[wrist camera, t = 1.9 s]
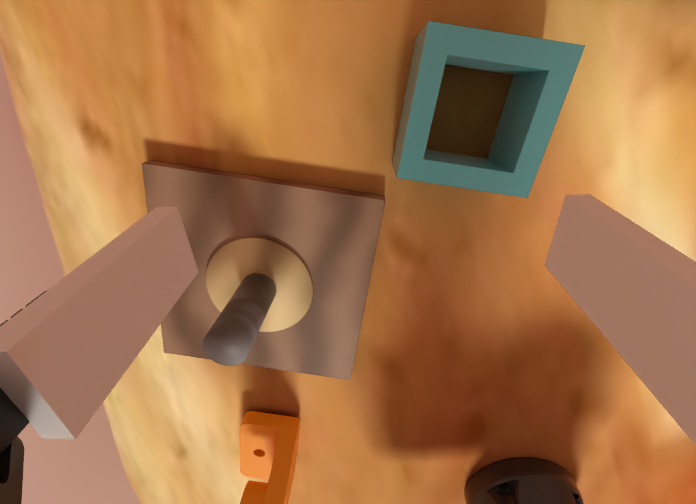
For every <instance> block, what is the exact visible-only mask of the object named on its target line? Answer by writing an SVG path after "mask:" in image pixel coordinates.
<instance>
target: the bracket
mask: <svg viewBox="0 0 696 504" xmlns="http://www.w3.org/2000/svg"><path fill="white" fill-rule="evenodd" d="M299 424H300V418H298V417H291V416H283V415H276V414H269V413H262V412H255V411H248V412H247V413H246V414H245V416H244V419H243V421H242V424H241V426H240V472H241V473H242V474H243V475H244V476H247V477H254V478H262V479H269V481H268V483H264V482H256V481H248V483H247V485H246V487H245V490H244V493H243V496H242V499H241V503H240V504H288V499H289V495H290V490H291V486H292V481H293V476H294V471H295V463H296V456H297V449H298V439H299V429H300V426H299Z"/></svg>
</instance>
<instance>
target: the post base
mask: <svg viewBox="0 0 696 504" xmlns="http://www.w3.org/2000/svg"><path fill="white" fill-rule="evenodd" d="M142 170H143V178H144V187H145V195H146V203H147V212H148V213H149V212H150V211H152V210H153V209H154V208H156V207H178V210H179V213H180V216H181V219H182V222H183V225H184V229H185V232H186V235H187V238H188V241H189V244H190V247H191V250H192V253H193V256H194V259H195V262H196V265H197V268H198V271H199V272H198V274H197V275H196V276H195V278H194V279H193V280H192V282H191V283H190V284H189V286H188V287H187V288H186V290H185V291H184V293H183V294H182V295H181V297H180V298H179V299H178V301H177V302H176V303H175V305H174V306H173V308H172V309H171V310H170V312H169V313H168V314H167V316H166V317H165V318H164V320H163V321H162V322H161V329H162V337H163V346H164V353H171V354H178V355H184V356H191V357H198V358H204V359H211V360H213V361H214V362H216V363H218V364H221V365H225V366H234V365H238V364H245V365H252V366H258V367H265V368H272V369H278V370H285V371H292V372H299V373H305V374H312V375H319V376H325V377H332V378H339V379H346V380H351V375H352V369H353V364H354V359H355V354H356V349H357V344H358V338H359V333H360V328H361V323H362V318H363V313H364V307H365V302H366V297H367V292H368V287H369V282H370V276H371V271H372V266H373V261H374V256H375V251H376V245H377V240H378V235H379V230H380V225H381V220H382V214H383V209H384V204H385V196H381V195H375V194H368V193H362V192H355V191H349V190H342V189H336V188H329V187H323V186H316V185H309V184H303V183H296V182H290V181H283V180H277V179H270V178H264V177H257V176H251V175H244V174H238V173H231V172H224V171H218V170H211V169H205V168H198V167H192V166H185V165H179V164H172V163H166V162H159V161H153V160H151V161H148V162H144V163H142Z"/></svg>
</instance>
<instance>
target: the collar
mask: <svg viewBox="0 0 696 504" xmlns="http://www.w3.org/2000/svg"><path fill="white" fill-rule="evenodd" d="M584 47H585V45H578V44H572V43H566V42H559V41H553V40H546V39H540V38H534V37H527V36H521V35H515V34H508V33H502V32H496V31H489V30H483V29H477V28H470V27H464V26H457V25H451V24H445V23H438V22H432V21H428V22H427V24H426V25H425V26H424V27H423V29H422V30H421V31H420V32H419V33H418V35H417V36H416V41H415V46H414V51H413V57H412V62H411V67H410V72H409V77H408V82H407V88H406V93H405V98H404V103H403V108H402V114H401V119H400V124H399V129H398V134H397V139H396V145H395V150H394V155H393V160H392V164H393V168H394V171H395V174H396V177H397V178H401V179H407V180H414V181H420V182H427V183H433V184H440V185H446V186H453V187H459V188H466V189H472V190H479V191H485V192H492V193H498V194H505V195H511V196H518V197H524V198H528V195H529V192H530V190H531V187H532V184H533V182H534V179H535V177H536V174H537V171H538V169H539V166H540V163H541V161H542V158H543V155H544V153H545V150H546V147H547V145H548V142H549V140H550V137H551V134H552V132H553V129H554V126H555V124H556V121H557V118H558V116H559V113H560V110H561V108H562V105H563V103H564V100H565V97H566V95H567V92H568V89H569V87H570V84H571V81H572V79H573V76H574V74H575V71H576V68H577V66H578V63H579V60H580V58H581V55H582V52H583V50H584ZM445 65H452V66H458V67H465V68H471V69H477V70H484V71H490V72H497V73H503V74H509V75H513V78H512V81H511V85H510V88H509V91H508V94H507V97H506V101H505V104H504V107H503V110H502V114H501V117H500V120H499V123H498V126H497V130H496V133H495V136H494V139H493V143H492V146H491V149H490V152H489V155H488V159H486V158H479V157H473V156H466V155H460V154H453V153H447V152H440V151H434V150H427V149H426V145H427V141H428V137H429V132H430V128H431V124H432V119H433V115H434V111H435V106H436V102H437V98H438V93H439V89H440V85H441V80H442V76H443V72H444V67H445Z"/></svg>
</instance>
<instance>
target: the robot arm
mask: <svg viewBox="0 0 696 504" xmlns="http://www.w3.org/2000/svg"><path fill="white" fill-rule="evenodd" d="M545 266H546V268H547V269H548V270H549V271H550V272H551V274H552V275H553V276H554V277H555V278H556V280H557V281H558V282H559V283H560V284H561V285H562V287H563V288H564V289H565V290H566V291H567V293H568V294H569V295H570V296H571V297H572V299H573V300H574V301H575V302H576V303H577V305H578V306H579V307H580V308H581V309H582V310H583V312H584V313H585V314H586V315H587V316H588V318H589V319H590V320H591V321H592V322H593V324H594V325H595V326H596V327H597V328H598V329H599V331H600V332H601V333H602V334H603V335H604V337H605V338H606V339H607V340H608V341H609V343H610V344H611V345H612V346H613V347H614V349H615V350H616V351H617V352H618V353H619V354H620V356H621V357H622V358H623V359H624V360H625V362H626V363H627V364H628V365H629V366H630V368H631V369H632V370H633V371H634V372H635V373H636V375H637V376H638V377H639V378H640V379H641V381H642V382H643V383H644V384H645V385H646V387H647V388H648V389H649V390H650V391H651V393H652V394H653V395H654V396H655V397H656V398H657V400H658V401H659V402H660V403H661V404H662V406H663V407H664V408H665V409H666V410H667V412H668V413H669V414H670V415H671V416H672V417H673V419H674V420H675V421H676V422H677V423H678V425H679V426H680V427H681V428H682V429H683V431H684V432H685V433H686V434H687V435H688V437H689V438H690V439H691V440H692V441H693V442H694V444H695V445H696V262H695V261H693V260H692V259H690V258H689V257H687V256H686V255H684V254H682V253H681V252H679V251H678V250H676V249H675V248H673V247H671V246H670V245H668V244H667V243H665V242H664V241H662V240H661V239H659V238H657V237H656V236H654V235H653V234H651V233H650V232H648V231H646V230H645V229H643V228H642V227H640V226H639V225H637V224H635V223H634V222H632V221H631V220H629V219H628V218H626V217H625V216H623V215H621V214H620V213H618V212H617V211H615V210H614V209H612V208H610V207H609V206H607V205H606V204H604V203H603V202H601V201H600V200H598V199H596V198H595V197H593V196H592V195H590V194H584V195H565V199H564V202H563V206H562V209H561V212H560V216H559V219H558V222H557V226H556V229H555V233H554V236H553V239H552V243H551V246H550V249H549V253H548V256H547V259H546V263H545ZM198 272H199V271H198V268H197V265H196V262H195V259H194V256H193V253H192V250H191V247H190V244H189V241H188V238H187V235H186V232H185V229H184V225H183V222H182V219H181V216H180V213H179V210H178V207H156V208H154V209H153V210H152V211H150V212H149V213H148V214H147V215H145V216H144V217H143V218H141V219H140V220H139V221H137V222H136V223H135V224H133V225H132V226H131V227H130V228H128V229H127V230H126V231H124V232H123V233H122V234H120V235H119V236H118V237H116V238H115V239H114V240H113V241H111V242H110V243H109V244H107V245H106V246H105V247H103V248H102V249H101V250H99V251H98V252H97V253H96V254H94V255H93V256H92V257H90V258H89V259H88V260H86V261H85V262H84V263H83V264H81V265H80V266H79V267H77V268H76V269H75V270H73V271H72V272H71V273H69V274H68V275H67V276H66V277H64V278H63V279H62V280H60V281H59V282H58V283H57V284H55V285H54V286H53V287H51V288H50V289H49V290H47V291H45V292H43V293H42V294H40V296H38V297H37V298H35V299H34V300H33V301H32V302H30V303H29V304H27V305H26V307H25V308H24V309H21V310H19V311H18V312H17V313H15V314H14V315H13V316H12V317H11V319H9V320H6V321H5V322H4V323H2V324H1V325H0V504H21V499H22V481H23V462H24V446H23V443H22V441H21V440H20V439H19V438H18V437H17V435H18V434H19V433H20V432H21V431H22V430H23V429H24V428H25V427H26V425H27V424H28V423H30V424H31V426H32V427H33V428H34V429H35V430H36V431H37V432H38V434H39V435H40V436H41V437H42V438H43V439H76V438H77V437H78V435H79V434H80V433H81V431H82V430H83V428H84V427H85V426H86V424H87V423H88V422H89V420H90V419H91V418H92V416H93V415H94V413H95V412H96V411H97V409H98V408H99V407H100V405H101V404H102V403H103V401H104V400H105V399H106V397H107V396H108V394H109V393H110V392H111V390H112V389H113V388H114V386H115V385H116V384H117V382H118V381H119V380H120V378H121V377H122V375H123V374H124V373H125V371H126V370H127V369H128V367H129V366H130V365H131V363H132V362H133V361H134V359H135V358H136V356H137V355H138V354H139V352H140V351H141V350H142V348H143V347H144V346H145V344H146V343H147V341H148V340H149V339H150V337H151V336H152V335H153V333H154V332H155V331H156V329H157V328H158V327H159V325H160V324H161V322H162V321H163V320H164V318H165V317H166V316H167V314H168V313H169V312H170V310H171V309H172V308H173V306H174V305H175V303H176V302H177V301H178V299H179V298H180V297H181V295H182V294H183V293H184V291H185V290H186V288H187V287H188V286H189V284H190V283H191V282H192V280H193V279H194V278H195V276H196V275H197V274H198ZM465 499H466V504H583V500H582V497H581V494H580V492H579V490H578V488H577V486H576V484H575V482H574V480H573V478H572V477H571V475H570V474H569V473H568V472H567V471H566V470H565V469H563V468H562V467H560V466H558V465H557V464H554V463H552V462H548V461H545V460H540V459H531V458H520V459H511V460H505V461H501V462H498V463H495V464H492V465H490V466H488V467H486V468H484V469H482V470H480V471H479V472H478V473H476V474H475V475H474V476H473V477H472V478H471V479H470V480H469V482H468V484H467V486H466V488H465Z"/></svg>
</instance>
